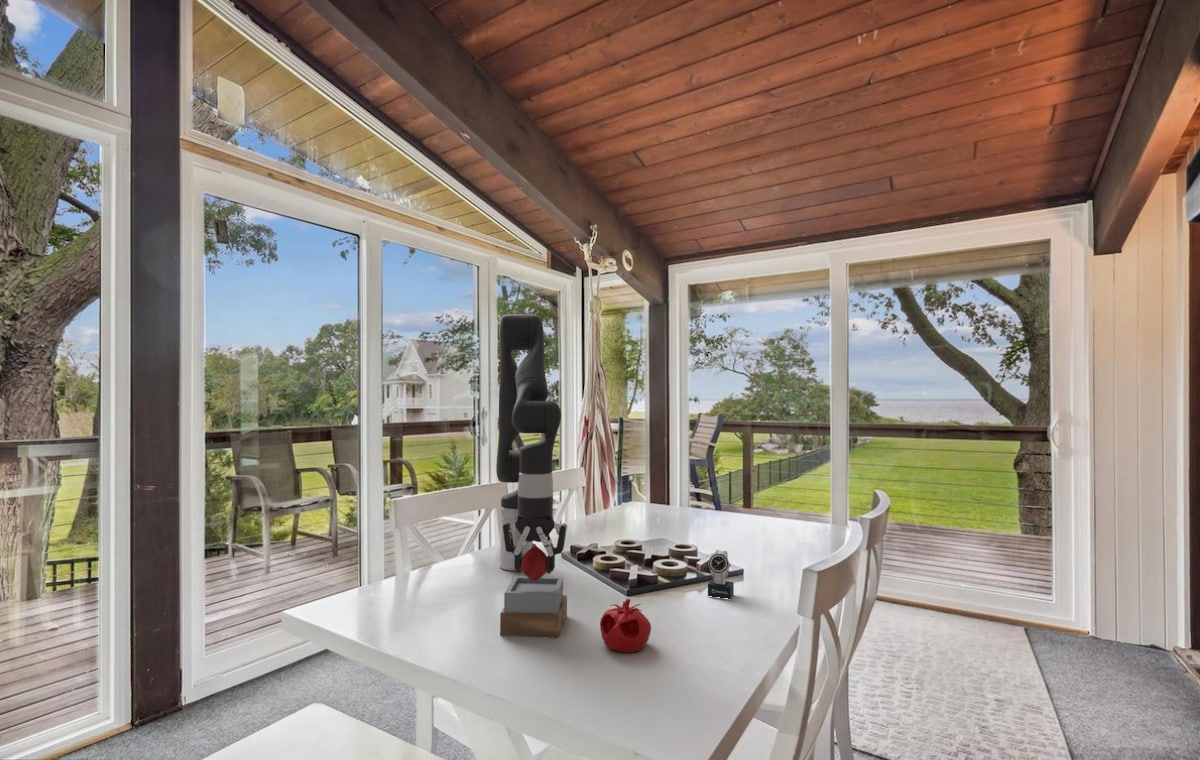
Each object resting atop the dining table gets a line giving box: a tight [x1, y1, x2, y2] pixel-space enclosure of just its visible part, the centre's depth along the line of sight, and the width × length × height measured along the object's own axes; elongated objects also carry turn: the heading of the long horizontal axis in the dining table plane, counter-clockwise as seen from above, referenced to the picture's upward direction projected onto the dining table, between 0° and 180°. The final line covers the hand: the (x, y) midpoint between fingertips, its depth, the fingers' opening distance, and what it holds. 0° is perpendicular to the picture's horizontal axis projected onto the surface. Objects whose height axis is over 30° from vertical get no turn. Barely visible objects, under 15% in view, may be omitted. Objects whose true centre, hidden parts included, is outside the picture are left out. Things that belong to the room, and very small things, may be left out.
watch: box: [707, 549, 735, 600], centre depth 146 cm, size 6×8×11 cm
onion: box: [521, 543, 548, 582], centre depth 126 cm, size 6×6×8 cm
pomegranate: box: [599, 598, 652, 653], centre depth 116 cm, size 10×10×9 cm
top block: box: [503, 575, 564, 614], centre depth 126 cm, size 11×11×4 cm
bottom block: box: [499, 594, 568, 639], centre depth 126 cm, size 12×12×5 cm
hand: (534, 571), depth 126 cm, fingers closed on onion, 6 cm apart
